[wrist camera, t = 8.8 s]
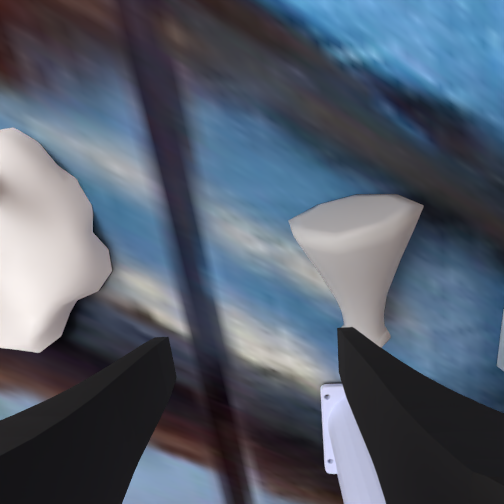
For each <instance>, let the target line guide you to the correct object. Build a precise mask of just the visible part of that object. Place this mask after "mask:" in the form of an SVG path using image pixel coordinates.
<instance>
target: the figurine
mask: <svg viewBox="0 0 504 504" xmlns="http://www.w3.org/2000/svg"><path fill="white" fill-rule="evenodd" d="M111 272H112V267H111V261H110V255H109V249H108V248H107V247H106V246H105V245H104V244H103V243H102V242H101V241H100V240H99V238H98V237H97V236H96V235H95V234H94V233H93V210H92V205H91V203H90V202H89V200H88V198H87V197H86V195H85V193H84V192H83V190H82V188H81V187H80V185H79V183H78V181H77V179H76V178H75V177H73V176H72V175H70V174H69V173H68V172H66V171H65V170H64V169H62V168H61V167H59V166H58V165H57V164H56V163H55V162H54V160H53V159H52V158H51V157H50V156H49V154H48V153H47V152H46V151H45V149H44V148H43V147H42V146H41V145H40V144H39V143H38V142H37V141H36V140H34V139H32V138H31V137H29V136H27V135H26V134H24V133H22V132H21V131H19V130H17V129H15V128H8V129H2V130H0V348H7V349H15V350H23V351H30V352H37V353H40V352H41V351H42V350H44V349H45V348H46V347H48V346H49V345H50V344H52V343H53V342H54V341H56V340H57V339H58V338H60V337H61V335H62V333H63V330H64V328H65V325H66V322H67V320H68V317H69V315H70V312H71V310H72V309H73V307H74V305H75V303H76V302H77V300H79V299H81V298H84V297H86V296H88V295H91V294H93V293H95V292H98V291H99V289H100V288H101V287H102V285H103V284H104V282H105V281H106V279H107V278H108V276H109V275H110V273H111Z"/></svg>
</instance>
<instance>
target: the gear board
mask: <svg viewBox="0 0 504 504" xmlns="http://www.w3.org/2000/svg"><path fill="white" fill-rule="evenodd" d="M497 366H498V367H499V368H500V369H501V370H503V371H504V311H503V319H502V327H501V335H500V343H499V352H498V360H497Z"/></svg>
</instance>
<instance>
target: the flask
mask: <svg viewBox="0 0 504 504" xmlns="http://www.w3.org/2000/svg"><path fill="white" fill-rule="evenodd" d="M423 206H424V205H421V204H419V203H416V202H414V201H412V200H409V199H407V198H405V197H402V196H400V195H398V194H356V195H352V196H349V197H345V198H341V199H338V200H334V201H330V202H327V203H323V204H319V205H316V206H314V207H313V208H311V209H309V210H307V211H305V212H303V213H301V214H300V215H298V216H296V217H294V218H292V219H290V220H289V224H290V227H291V230H292V233H293V235H294V237H295V239H296V240H297V242H298V243H299V245H300V246H301V248H302V249H303V251H304V252H305V253H306V255H307V256H308V258H309V259H310V260H311V262H312V263H313V265H314V266H315V268H316V269H317V270H318V272H319V273H320V275H321V276H322V278H323V279H324V281H325V282H326V284H327V286H328V287H329V289H330V290H331V292H332V293H333V295H334V296H335V298H336V300H337V302H338V304H339V307H340V309H341V311H342V316H343V321H344V325H343V326H342V327H341V328H344V327H354V328H355V329H356V330H358V331H359V332H360V333H362V334H363V335H364V336H366V337H367V338H368V339H370V340H371V341H373V342H374V343H375V344H377V345H378V346H379V347H381V348H382V347H383V345H384V344H385V343H386V342H387V341H388V340H389V339H390V338H391V336H390V333H389V332H388V330H387V329H386V327H385V325H384V310H385V304H386V298H387V293H388V291H389V288H390V285H391V283H392V280H393V278H394V275H395V273H396V270H397V267H398V265H399V262H400V260H401V258H402V255H403V253H404V251H405V249H406V246H407V244H408V242H409V240H410V237H411V235H412V233H413V231H414V228H415V226H416V224H417V221H418V219H419V216H420V214H421V211H422V209H423Z"/></svg>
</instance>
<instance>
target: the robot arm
mask: <svg viewBox="0 0 504 504" xmlns="http://www.w3.org/2000/svg"><path fill="white" fill-rule="evenodd" d="M337 333H338V361H339V374H340V377H341V381H342V384H324V385H322V386H321V388H320V392H321V410H322V428H323V446H324V463H325V470H326V472H327V473H330V474H338V479H339V483H340V488H341V492H342V497H343V501H344V504H504V413H501V412H499V411H497V410H494V409H492V408H489V407H487V406H485V405H483V404H480V403H478V402H476V401H474V400H472V399H469V398H467V397H465V396H463V395H461V394H459V393H457V392H455V391H453V390H451V389H449V388H447V387H445V386H443V385H441V384H439V383H437V382H435V381H433V380H432V379H430V378H428V377H426V376H424V375H423V374H421V373H419V372H417V371H416V370H414V369H412V368H411V367H409V366H408V365H406V364H405V363H403V362H401V361H400V360H398V359H397V358H395V357H394V356H392V355H391V354H389V353H388V352H386V351H385V350H384V349H382V348H381V347H379V346H378V345H377V344H375V343H374V342H373V341H371V340H370V339H368V338H367V337H366V336H364V335H363V334H362V333H360V332H359V331H358V330H356V329H355V328H354V327H344V328H337ZM175 381H176V372H175V367H174V362H173V357H172V352H171V347H170V343H169V338H168V337H157V338H153V339H151V340H149V341H148V342H146V343H144V344H143V345H141V346H139V347H138V348H136V349H135V350H133V351H132V352H130V353H128V354H127V355H125V356H124V357H122V358H121V359H119V360H117V361H116V362H114V363H113V364H111V365H109V366H108V367H106V368H104V369H103V370H101V371H99V372H98V373H96V374H94V375H93V376H91V377H89V378H88V379H86V380H84V381H83V382H81V383H79V384H77V385H75V386H73V387H72V388H70V389H68V390H66V391H64V392H62V393H60V394H58V395H56V396H54V397H52V398H50V399H48V400H46V401H44V402H41V403H39V404H37V405H35V406H33V407H30V408H28V409H26V410H24V411H21V412H19V413H17V414H15V415H13V416H10V417H8V418H5V419H3V420H0V504H122V502H123V499H124V497H125V494H126V492H127V489H128V487H129V484H130V481H131V479H132V476H133V474H134V471H135V469H136V467H137V465H138V462H139V460H140V458H141V456H142V454H143V452H144V450H145V448H146V446H147V444H148V442H149V440H150V438H151V436H152V434H153V432H154V430H155V428H156V426H157V424H158V422H159V420H160V418H161V415H162V413H163V411H164V409H165V407H166V405H167V403H168V401H169V398H170V395H171V393H172V390H173V387H174V384H175ZM327 394H328V396H325V395H327Z"/></svg>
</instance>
